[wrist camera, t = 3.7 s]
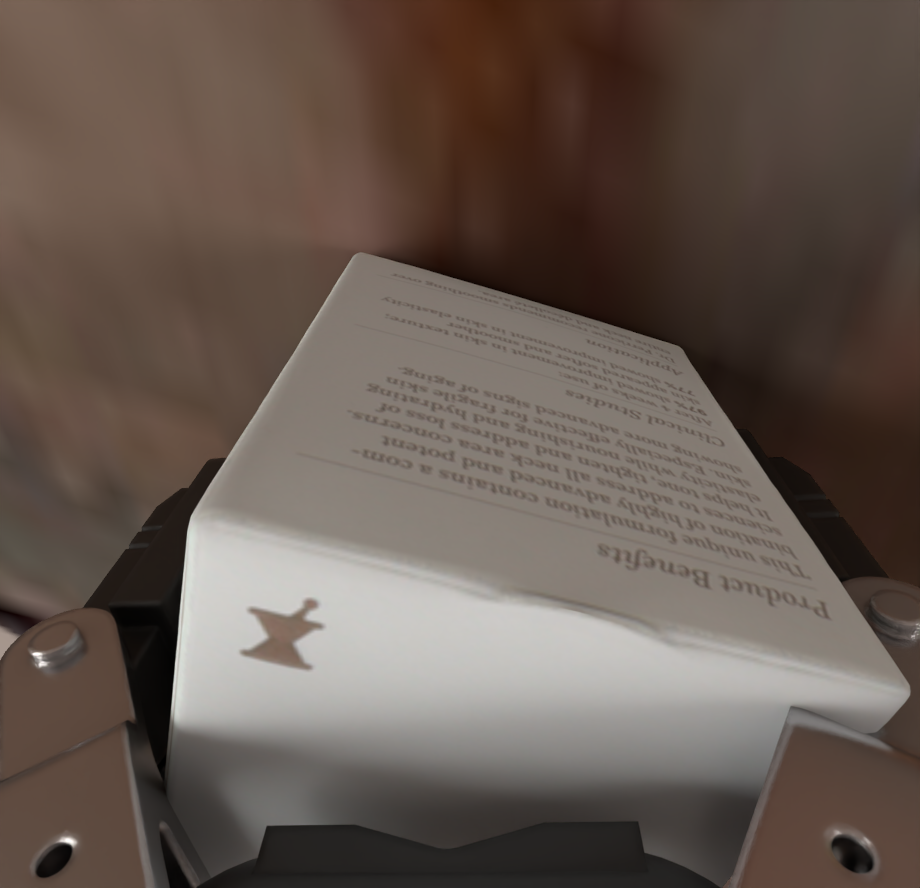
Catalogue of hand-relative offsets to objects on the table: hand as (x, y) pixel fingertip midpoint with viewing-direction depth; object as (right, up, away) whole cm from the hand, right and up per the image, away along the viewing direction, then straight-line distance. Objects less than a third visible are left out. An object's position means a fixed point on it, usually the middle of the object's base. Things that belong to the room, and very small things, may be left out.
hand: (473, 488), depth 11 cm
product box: (0, +1, +1) cm, 2 cm away
